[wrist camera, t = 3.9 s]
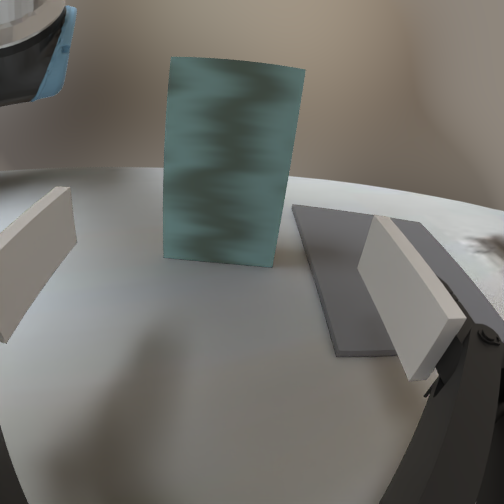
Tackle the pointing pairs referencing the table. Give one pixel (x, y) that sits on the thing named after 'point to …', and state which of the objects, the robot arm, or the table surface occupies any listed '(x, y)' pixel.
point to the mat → (354, 289)
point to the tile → (227, 158)
